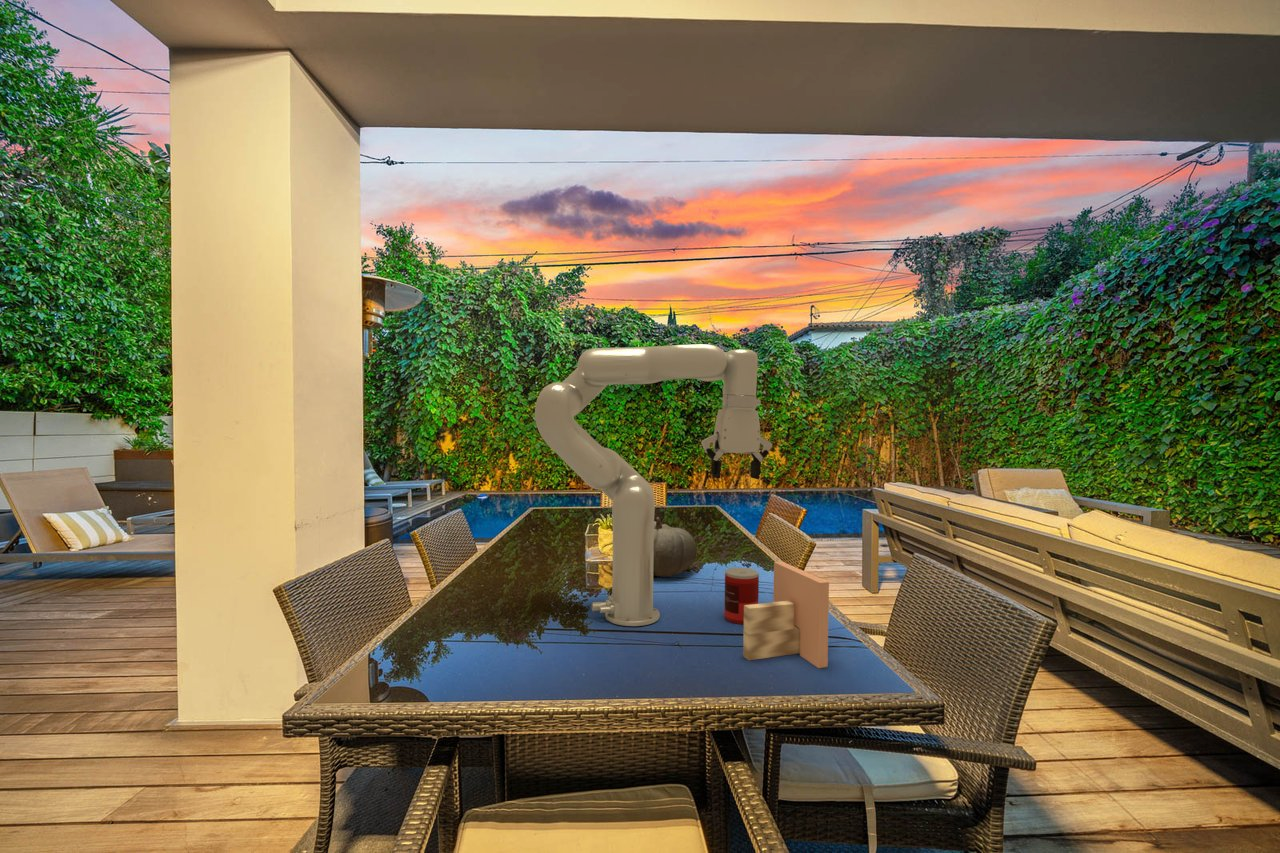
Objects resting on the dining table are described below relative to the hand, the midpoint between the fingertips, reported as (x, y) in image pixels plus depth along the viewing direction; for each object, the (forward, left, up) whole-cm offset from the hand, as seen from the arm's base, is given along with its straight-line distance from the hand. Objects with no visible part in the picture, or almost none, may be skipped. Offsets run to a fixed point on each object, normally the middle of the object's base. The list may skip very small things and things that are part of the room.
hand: (735, 478), depth 132 cm
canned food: (+2, 0, -33) cm, 33 cm away
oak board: (+1, -20, -33) cm, 38 cm away
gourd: (-3, +44, -33) cm, 55 cm away
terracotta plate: (+4, -20, -33) cm, 39 cm away
